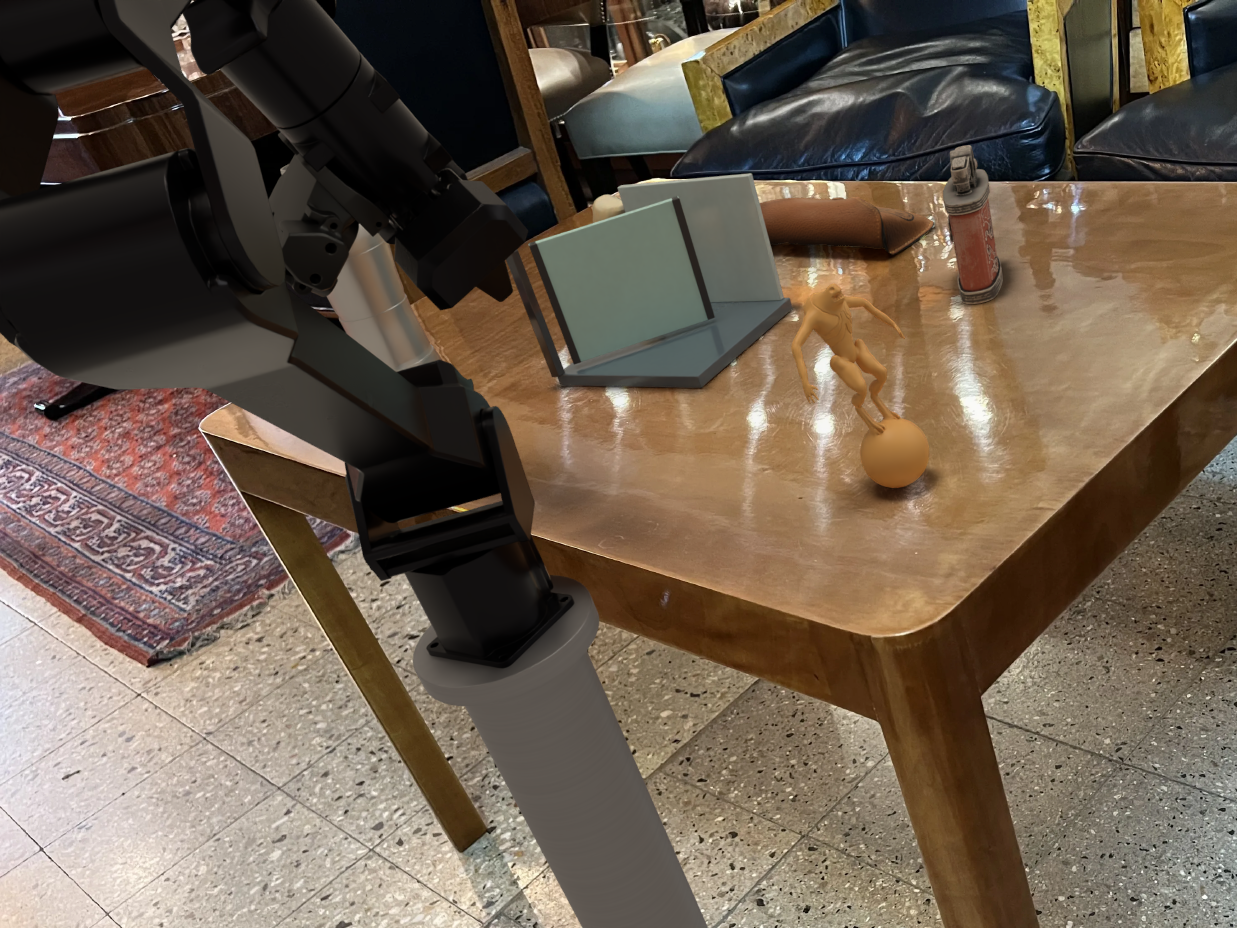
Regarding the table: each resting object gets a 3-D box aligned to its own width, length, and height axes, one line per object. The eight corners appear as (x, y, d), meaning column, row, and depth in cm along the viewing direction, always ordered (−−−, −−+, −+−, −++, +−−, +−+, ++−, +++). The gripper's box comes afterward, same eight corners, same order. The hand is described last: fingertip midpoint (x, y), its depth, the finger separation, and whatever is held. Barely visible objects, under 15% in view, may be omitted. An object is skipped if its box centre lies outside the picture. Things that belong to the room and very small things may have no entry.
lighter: (962, 268, 95) (940, 140, 90) (1004, 260, 95) (985, 131, 89) (956, 306, 89) (932, 172, 83) (1001, 299, 88) (980, 162, 83)
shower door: (715, 317, 95) (679, 197, 89) (574, 364, 93) (528, 245, 88) (713, 315, 96) (677, 195, 90) (572, 361, 94) (528, 243, 89)
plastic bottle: (365, 433, 95) (239, 182, 84) (417, 394, 100) (305, 152, 89) (426, 432, 93) (303, 172, 81) (476, 391, 97) (368, 141, 86)
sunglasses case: (941, 217, 105) (907, 165, 100) (910, 283, 104) (874, 234, 99) (790, 216, 116) (752, 169, 111) (761, 276, 115) (721, 232, 109)
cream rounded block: (674, 272, 112) (647, 187, 107) (647, 295, 108) (618, 207, 103) (624, 277, 114) (596, 193, 109) (596, 299, 110) (566, 213, 106)
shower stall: (697, 391, 87) (651, 245, 81) (556, 388, 94) (503, 253, 88) (793, 308, 97) (758, 171, 90) (658, 311, 104) (617, 184, 97)
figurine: (883, 525, 66) (835, 321, 59) (805, 506, 69) (751, 313, 63) (969, 453, 70) (933, 256, 63) (891, 439, 74) (849, 252, 67)
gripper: (156, 130, 65) (358, 317, 78) (245, 269, 54) (464, 460, 67) (307, -4, 66) (484, 204, 78) (426, 106, 55) (610, 327, 67)
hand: (505, 295), depth 73 cm, fingers closed
